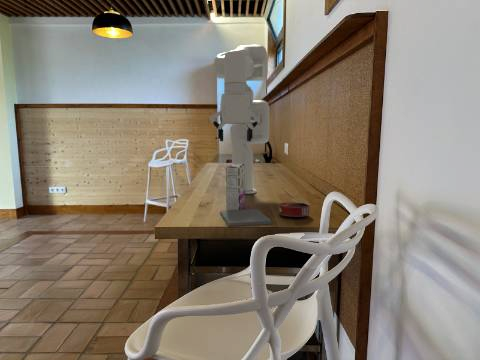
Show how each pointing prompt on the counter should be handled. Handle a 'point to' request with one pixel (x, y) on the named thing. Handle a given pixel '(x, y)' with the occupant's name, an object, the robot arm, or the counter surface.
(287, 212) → the canned food
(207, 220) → the counter surface
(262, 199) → the counter surface
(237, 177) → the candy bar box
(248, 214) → the mat
